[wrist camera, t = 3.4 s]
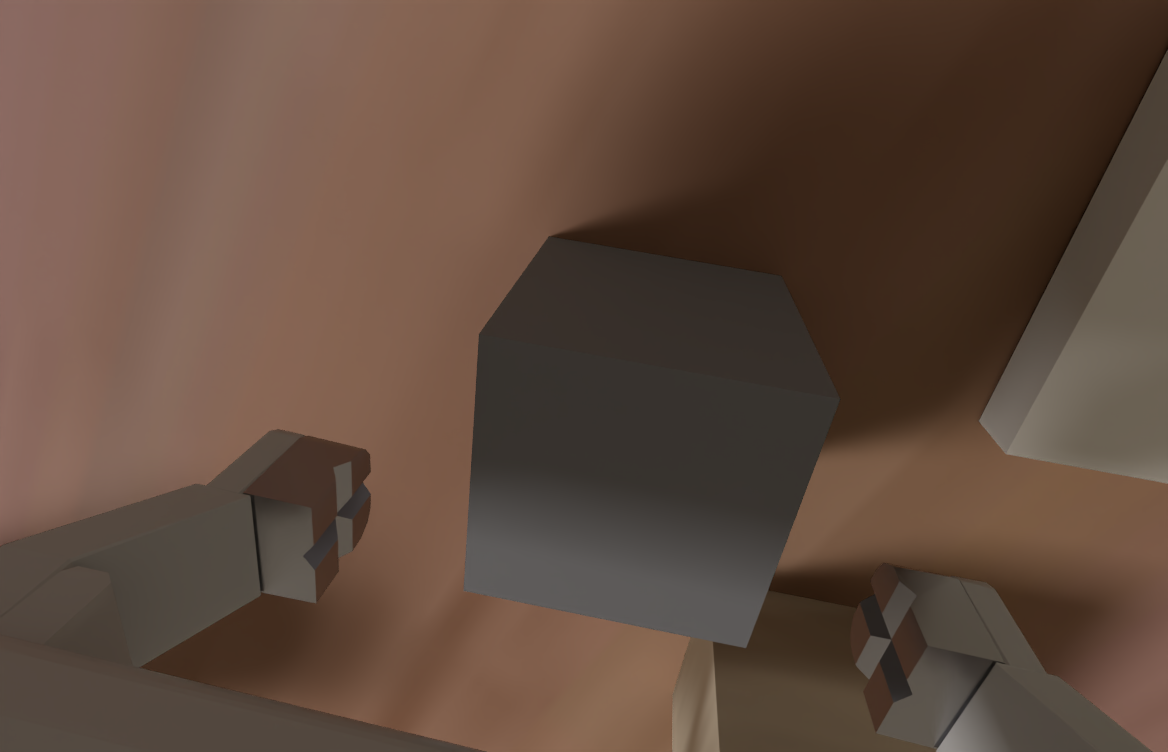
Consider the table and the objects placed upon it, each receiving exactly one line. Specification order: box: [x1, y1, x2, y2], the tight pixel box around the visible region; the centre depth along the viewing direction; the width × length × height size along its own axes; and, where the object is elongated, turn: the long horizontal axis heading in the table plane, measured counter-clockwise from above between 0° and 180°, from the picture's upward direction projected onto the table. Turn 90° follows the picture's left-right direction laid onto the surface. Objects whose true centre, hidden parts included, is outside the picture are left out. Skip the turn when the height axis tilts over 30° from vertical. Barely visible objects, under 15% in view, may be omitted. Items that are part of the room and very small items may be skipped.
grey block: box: [464, 236, 840, 648], centre depth 11 cm, size 5×5×5 cm
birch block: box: [672, 590, 937, 752], centre depth 15 cm, size 5×5×5 cm
